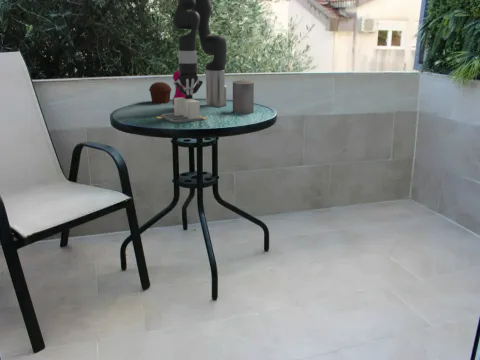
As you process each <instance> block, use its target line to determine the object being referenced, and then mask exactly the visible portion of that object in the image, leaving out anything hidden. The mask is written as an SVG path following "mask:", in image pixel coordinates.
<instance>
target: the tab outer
mask: <svg viewBox="0 0 480 360" xmlns="http://www.w3.org/2000/svg"><path fill="white" fill-rule="evenodd" d="M194 100H195V99H194ZM187 105H188V119H195V118H200V115H201V112H200V111H201V110H200V109H201V106H200V105H201V103H200V101H199V100H195V101H187Z"/></svg>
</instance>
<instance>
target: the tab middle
mask: <svg viewBox="0 0 480 360" xmlns="http://www.w3.org/2000/svg"><path fill="white" fill-rule="evenodd" d="M187 101H195V99H194V98H193V99H183V113H184V117H188V105H187Z"/></svg>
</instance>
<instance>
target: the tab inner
mask: <svg viewBox="0 0 480 360" xmlns="http://www.w3.org/2000/svg"><path fill="white" fill-rule="evenodd" d="M173 98H174V97H173ZM183 99H185V98H174V105H173V111H174V113H173V114H175V116H176V115H184V113H183Z"/></svg>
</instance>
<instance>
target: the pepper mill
mask: <svg viewBox="0 0 480 360" xmlns="http://www.w3.org/2000/svg"><path fill="white" fill-rule="evenodd" d="M178 77H179V67H177V71H175V72H174V73H173V75H172V79H173V81H174V82H176V81H177V80H178ZM180 84H181V82H180ZM174 86H175V85H174ZM180 86H181V87H182V88H183V85H182V84H181V85H180ZM183 90H184V88H183ZM174 98H185V94H183V93H181V92H180V91H179V90H178V89H177V87H176V86H175V93H174V95H173V97H172V105H173V106H174Z"/></svg>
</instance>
